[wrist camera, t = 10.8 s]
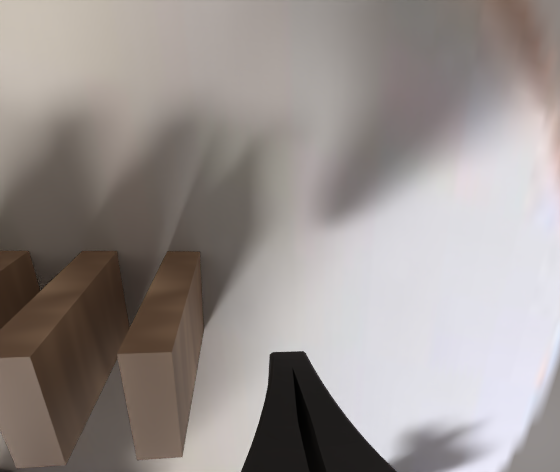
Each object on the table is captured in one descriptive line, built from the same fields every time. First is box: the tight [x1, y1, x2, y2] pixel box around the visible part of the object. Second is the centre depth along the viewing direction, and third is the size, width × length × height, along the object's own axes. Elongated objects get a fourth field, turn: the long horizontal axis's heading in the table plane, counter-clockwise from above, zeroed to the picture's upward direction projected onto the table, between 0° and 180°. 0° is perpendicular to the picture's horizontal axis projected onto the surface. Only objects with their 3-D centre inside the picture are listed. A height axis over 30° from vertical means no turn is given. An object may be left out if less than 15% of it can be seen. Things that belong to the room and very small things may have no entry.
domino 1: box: [117, 251, 204, 460], centre depth 14 cm, size 2×5×7 cm, turn 177°
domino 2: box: [0, 251, 129, 468], centre depth 13 cm, size 2×5×7 cm, turn 176°
